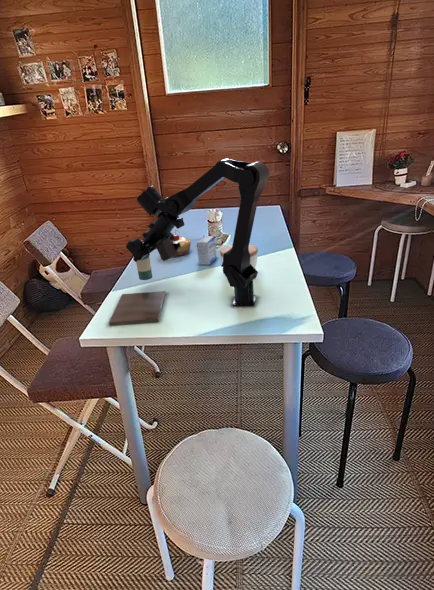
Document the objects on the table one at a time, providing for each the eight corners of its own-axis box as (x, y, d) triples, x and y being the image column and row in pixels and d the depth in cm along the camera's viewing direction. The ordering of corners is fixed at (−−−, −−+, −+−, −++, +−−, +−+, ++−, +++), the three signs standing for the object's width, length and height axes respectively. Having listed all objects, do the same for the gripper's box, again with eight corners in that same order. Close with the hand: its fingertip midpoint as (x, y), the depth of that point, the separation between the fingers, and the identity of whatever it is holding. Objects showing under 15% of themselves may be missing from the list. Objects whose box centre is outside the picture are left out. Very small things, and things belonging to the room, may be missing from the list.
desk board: (158, 322, 123) (157, 318, 123) (109, 325, 124) (108, 322, 123) (165, 293, 141) (165, 290, 140) (122, 296, 141) (122, 294, 141)
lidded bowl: (249, 265, 157) (247, 235, 152) (264, 276, 147) (263, 244, 141) (216, 272, 154) (214, 242, 148) (230, 284, 143) (227, 252, 138)
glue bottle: (150, 280, 142) (144, 242, 136) (137, 280, 143) (130, 243, 137) (154, 275, 146) (148, 238, 140) (141, 275, 147) (135, 239, 141)
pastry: (157, 257, 174) (153, 235, 170) (169, 247, 184) (166, 226, 179) (184, 258, 170) (181, 235, 166) (195, 248, 180) (193, 227, 176)
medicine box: (209, 265, 161) (207, 242, 157) (198, 264, 162) (196, 242, 158) (216, 258, 167) (214, 236, 163) (205, 257, 169) (203, 235, 165)
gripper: (163, 256, 125) (139, 287, 135) (195, 237, 139) (171, 266, 149) (136, 227, 125) (114, 261, 135) (171, 211, 139) (149, 242, 149)
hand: (139, 258), depth 142 cm, fingers closed on glue bottle, 4 cm apart
